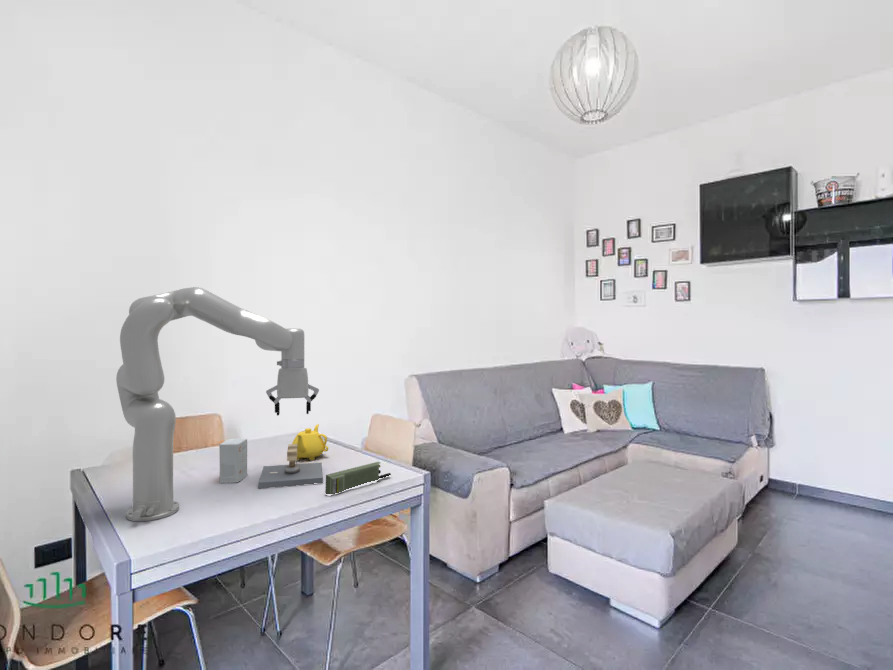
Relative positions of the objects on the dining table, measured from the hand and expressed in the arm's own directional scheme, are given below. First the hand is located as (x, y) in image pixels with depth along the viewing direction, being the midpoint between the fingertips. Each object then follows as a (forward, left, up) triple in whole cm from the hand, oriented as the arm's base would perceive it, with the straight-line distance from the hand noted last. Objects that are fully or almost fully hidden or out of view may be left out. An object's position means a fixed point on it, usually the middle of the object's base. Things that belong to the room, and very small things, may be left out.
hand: (292, 414), depth 161 cm
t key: (0, 0, -20) cm, 20 cm away
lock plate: (0, 0, -22) cm, 22 cm away
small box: (+3, +19, -22) cm, 29 cm away
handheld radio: (-14, -22, -22) cm, 34 cm away
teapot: (+24, -6, -22) cm, 33 cm away
